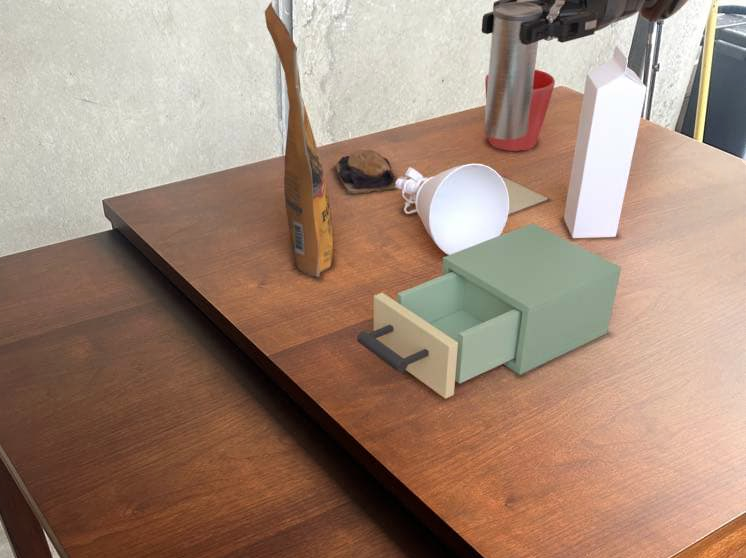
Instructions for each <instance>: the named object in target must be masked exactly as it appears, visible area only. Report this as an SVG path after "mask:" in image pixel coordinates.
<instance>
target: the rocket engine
mask: <svg viewBox="0 0 746 558" xmlns="http://www.w3.org/2000/svg"><path fill="white" fill-rule="evenodd" d="M404 175H405V176H403V175H401V176H400V177H398V178H397V179H396V180H395V183H396V185H397V187H396V188H395V189H399V190H401V195H402V196H401V197H402V198H403V199H404V200H405V202H404V207H403V211H404V213H405V214H406V215H410V214H414V213H417V215H418V217H419V218H420V220H421V223H422V224H423V227H424V229H425V231H426V232H427V234H428V236H429V237H430V239H431V240H432V242H434V244H435V245H436V246H437V247H438V248H439V249H440V250H441V252H443V253H444V254H446V255H447V256H448V255H451V254H453V253H456V252H459V251H461V250H464V249H466V248H469V247H472V246H474V245H477V244H479V243H482V242H485V241H487V240H490V239H492V238H495V237H497V236H500V235H502V233H503V231H504V229H505V226H506V224H507V222H508V217H509V214H508V212H509V196H508V191H507V188H506V185H505V183H504V181H503V179H502V178H501V176H502V175H500V174H499V173H498V172H497V171H496V170H495V169H493V168H492V167H491V166H488V165H486V164H482V163H468V164H462V165H457V166H454V167H451V168H449V169H446V170H444V171H442V172H440V173H437V174H436V175H434V176H430V177H424V176H423V175H422V174H421V173H420V172H419V171H418V170H416V169H415V168H413V167H411V166H409V167H408V169H407V171H406V172H405V174H404ZM408 178H409V179H408ZM405 194H407V195H409V198H407V197H406V196H405ZM411 204H414V205H415V209H412V210H410V211H408V210H407V209H408V208H410V207H411Z"/></svg>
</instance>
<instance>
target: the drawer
mask: <svg viewBox="0 0 746 558" xmlns="http://www.w3.org/2000/svg"><path fill="white" fill-rule="evenodd" d="M521 319H522V311H520V310H519V309H517V308H515V307H514V306H512V305H510V304H509V303H507V302H505V301H503V300H502V299H500V298H498V297H497V296H495V295H493V294H492V293H490V292H488V291H487V290H485V289H483V288H481V287H480V286H478V285H476V284H475V283H473V282H471V281H470V280H468V279H466V278H465V277H463V276H461V275H459V274H458V273H456V272H454V271H453V272H450V273H447V274H445V275H442V274H441V275H440V276H437V277H435V278H432V279H430V280H428V281H425V282H422V283H420V284H418V285H414V286H412V287H409V288H407V289H404V290H402V291H400V292H397V293H396V300H394V299H393V298H392V297H390V296H388V295H387V294H385V293H384V292H380V293H377V294H375V295H373V331H371V332H368V331H366V330H362V331H360V332H359V333H358V334H357V338H356V341H357V343H358V344H360V345H361V346H363V347H364V348H365V349H367V350H368V351H369V352H371V353H372V354H373V355H374V356H375V357H377V358H379V359H380V360H382V361H383V362H384V363H385V364H387V365H388V366H390V367H391V368H393V369H394V371H396V372H398V373H403V372H405V371H407V372H408V373H410V374H411V375H412V376H414V377H415V378H416V379H418V380H419V381H420V382H422V383H423V384H425V385H426V386H427V387H429V388H430V389H431V390H433V391H434V392H436V393H437V394H438V395H439V396H441V397H442V398H444V399H445V400H446V399H449V398H450V397H452V396H454V395H455V385H456V383H458V384H459V385H460V384H462V383H465V382H466V381H469V380H471V379H473V378H475V377H478V376H479V375H481V374H484V373H486V372H488V371H490V370H492V369H495V368H497V367H499V366H502V365H504V364H503V363H505V362H507V361H510V360H512V359H514V358H516V356H517V349H518V341H519V334H520V327H521Z"/></svg>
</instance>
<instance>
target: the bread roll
mask: <svg viewBox="0 0 746 558" xmlns="http://www.w3.org/2000/svg"><path fill="white" fill-rule="evenodd" d="M391 168H392V165H391V163H390V161H389V159H388V158H386V157H384V156H383V155H381V153H380V152H378V151H375V150H372V149H364V150H357V151H354V152H352V153H350V154H349V155H345V156H342V157H341V158H340V160H338V162H336V163H335V169H336V175H338V178H339V180H340V182H341V184H342V186H343V187H344V188H345V190H346V192H348V194H351V195H352V194H356V195H357V194H363V193H371V192H382V191H386V190H395V189H397V188H396V187H397V185H396V180H395V176H394V174H393V172H392V171H391Z"/></svg>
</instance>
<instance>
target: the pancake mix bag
mask: <svg viewBox="0 0 746 558" xmlns="http://www.w3.org/2000/svg"><path fill="white" fill-rule="evenodd" d="M272 2H273V1H270V3H269V4H268V6H267V7H266V8H265V10H264V17H265V25H266V29H267V31H268V32H269V34H270V37H271V39H272V41H273V45H274V47H275V49H276V52H277V55H278V58H279V61H280V64H281V66H282V68H283V72H284V79H285V84H286V89H287V91H286V92H287V98H288V118H287V119H288V120H287V130H286V141H285V149H284V150H285V151H284V178H283V188H284V189H283V190H284V203H285V213H286V220H287V226H288V233H289V239H290V242H291V247H292V253H293V256H294V259H295V263H296V269H298V270H299V271H300V272H302V273H303V274H306V275H308V276H312V277H316V278H320V275H321V272H324V271H327V270H329V269H331V265H332V261H333V255H334V234H333V219H332V211H331V209H332V208H331V202H330V196H329V189H328V185H327V181H326V177H325V173H324V167H323V165H322V161H321V157H320V153H319V150H318V146H317V143H316V140H315V135H314V132H313V128H312V126H311V125H312V124H311V122H310V118H309V115H308V112H307V108H306V106H305V102H304V99H303V96H302V88H301V79H300V78H301V77H300V70H299V69H300V68H299V65H298V60H297V59H298V57H297V53H298V47H297V45H296V44H295V42H294V40H293V38H292V36H291V34H290V31H289V30H288V28H287V26H286V24H285V22H284V21H283V20H282V19H281V18H280V16H279V15H278V14H277V12H276V10H275V8H274V7H273V3H272Z"/></svg>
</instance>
